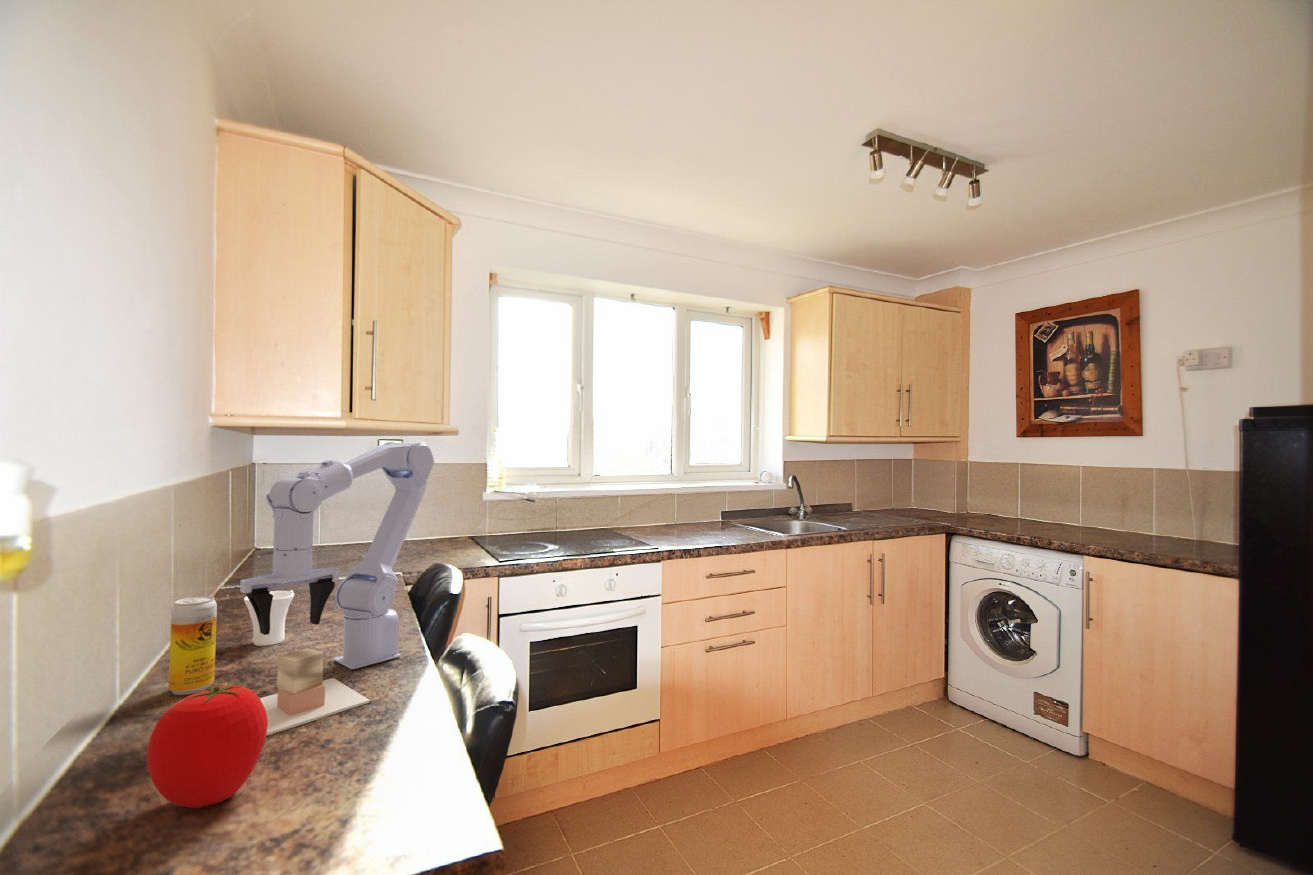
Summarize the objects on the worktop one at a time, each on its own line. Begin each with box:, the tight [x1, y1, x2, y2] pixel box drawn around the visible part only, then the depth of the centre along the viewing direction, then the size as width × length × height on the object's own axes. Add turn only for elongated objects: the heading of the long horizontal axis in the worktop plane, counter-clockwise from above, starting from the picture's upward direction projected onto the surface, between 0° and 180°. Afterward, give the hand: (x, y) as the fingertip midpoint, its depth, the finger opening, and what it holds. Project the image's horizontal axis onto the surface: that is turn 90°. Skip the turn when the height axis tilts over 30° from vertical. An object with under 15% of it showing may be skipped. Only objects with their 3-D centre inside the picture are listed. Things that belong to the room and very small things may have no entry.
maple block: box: [276, 647, 324, 694], centre depth 92 cm, size 4×4×5 cm
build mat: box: [259, 677, 371, 737], centre depth 92 cm, size 16×14×1 cm
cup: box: [243, 589, 295, 647], centre depth 123 cm, size 9×9×10 cm
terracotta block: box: [277, 684, 325, 716], centre depth 92 cm, size 5×5×3 cm
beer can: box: [168, 595, 218, 696], centre depth 99 cm, size 6×6×15 cm
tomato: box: [146, 682, 268, 809], centre depth 68 cm, size 11×11×13 cm
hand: (290, 628), depth 99 cm, fingers open, 7 cm apart
